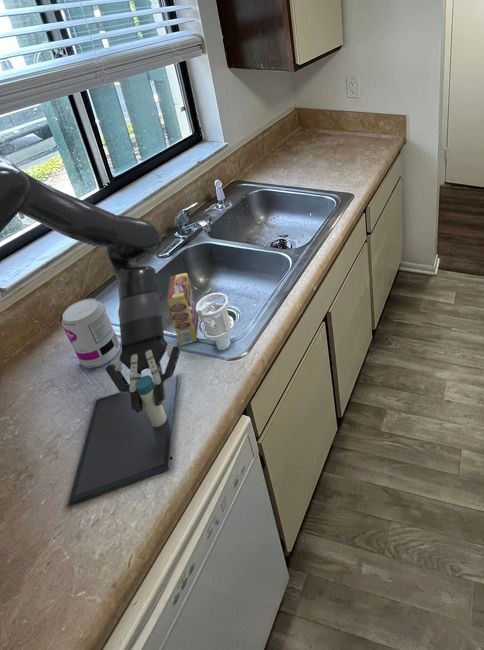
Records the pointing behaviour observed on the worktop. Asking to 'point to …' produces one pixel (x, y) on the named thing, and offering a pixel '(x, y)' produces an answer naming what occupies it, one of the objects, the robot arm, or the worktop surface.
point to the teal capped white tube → (150, 401)
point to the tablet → (123, 445)
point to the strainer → (216, 320)
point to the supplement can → (90, 332)
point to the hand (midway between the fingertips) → (149, 407)
